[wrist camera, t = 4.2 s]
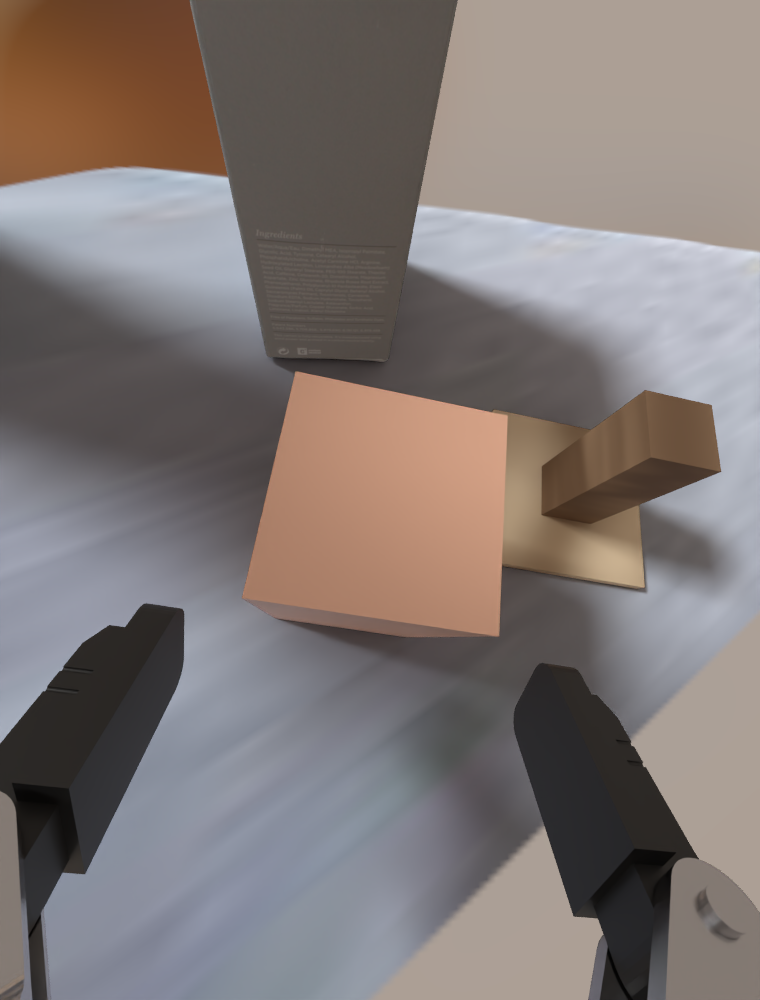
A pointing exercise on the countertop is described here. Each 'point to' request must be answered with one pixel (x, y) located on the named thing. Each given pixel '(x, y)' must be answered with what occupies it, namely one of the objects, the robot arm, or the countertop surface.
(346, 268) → the skincare box
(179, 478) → the countertop surface
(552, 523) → the wooden peg stand
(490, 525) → the tan rectangular prism
